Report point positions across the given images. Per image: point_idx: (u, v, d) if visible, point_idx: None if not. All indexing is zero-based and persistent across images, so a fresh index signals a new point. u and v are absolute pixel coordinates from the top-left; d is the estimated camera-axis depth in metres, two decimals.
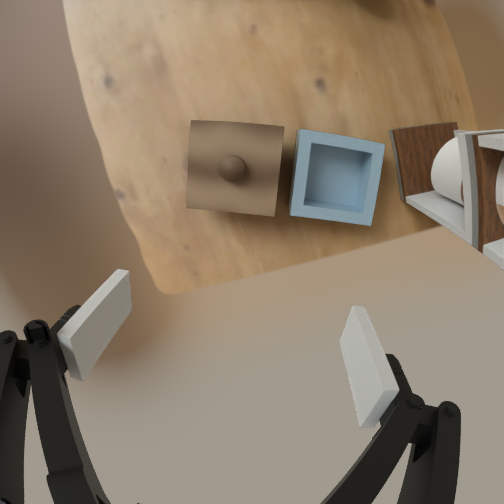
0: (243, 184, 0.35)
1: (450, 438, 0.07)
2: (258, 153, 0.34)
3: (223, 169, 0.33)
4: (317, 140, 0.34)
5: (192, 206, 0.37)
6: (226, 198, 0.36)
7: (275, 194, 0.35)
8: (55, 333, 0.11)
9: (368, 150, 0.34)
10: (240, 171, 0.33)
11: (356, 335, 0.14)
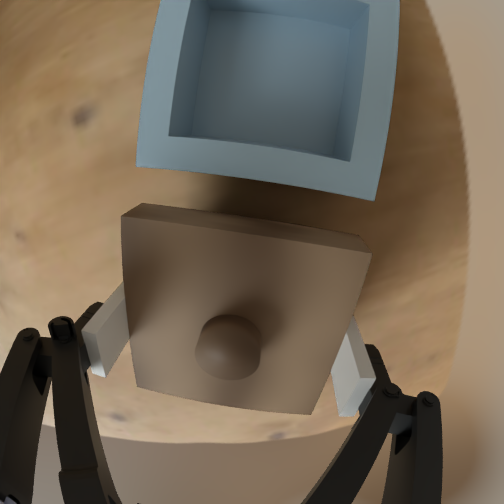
0: (274, 322, 0.14)
1: (431, 428, 0.08)
2: (192, 283, 0.13)
3: (228, 372, 0.13)
4: (162, 119, 0.12)
5: (309, 407, 0.16)
6: (304, 356, 0.14)
7: (310, 247, 0.12)
8: (77, 329, 0.12)
9: None
10: (232, 342, 0.13)
11: None
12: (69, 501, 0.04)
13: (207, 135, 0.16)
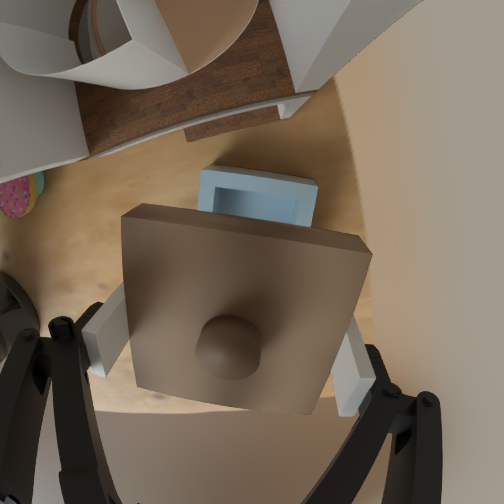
0: (274, 322, 0.14)
1: (431, 428, 0.08)
2: (192, 283, 0.13)
3: (228, 372, 0.13)
4: None
5: (309, 407, 0.16)
6: (304, 356, 0.14)
7: (310, 247, 0.12)
8: (78, 329, 0.12)
9: (211, 192, 0.28)
10: (232, 342, 0.13)
11: None
12: (69, 501, 0.04)
13: None
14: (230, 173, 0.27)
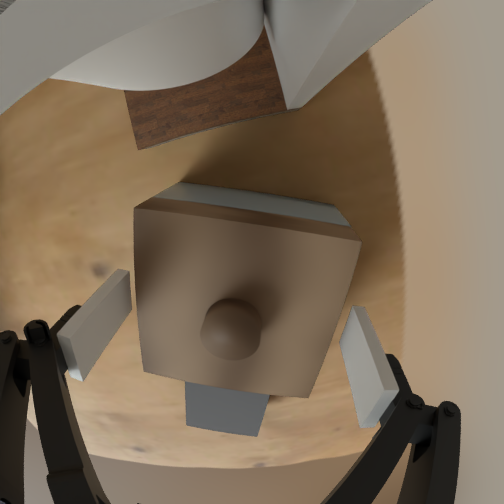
0: (273, 305, 0.15)
1: (450, 438, 0.07)
2: (198, 269, 0.14)
3: (230, 352, 0.15)
4: None
5: (307, 390, 0.17)
6: (301, 338, 0.16)
7: (305, 236, 0.14)
8: (55, 333, 0.11)
9: None
10: (235, 322, 0.14)
11: (356, 335, 0.14)
12: None
13: None
14: None
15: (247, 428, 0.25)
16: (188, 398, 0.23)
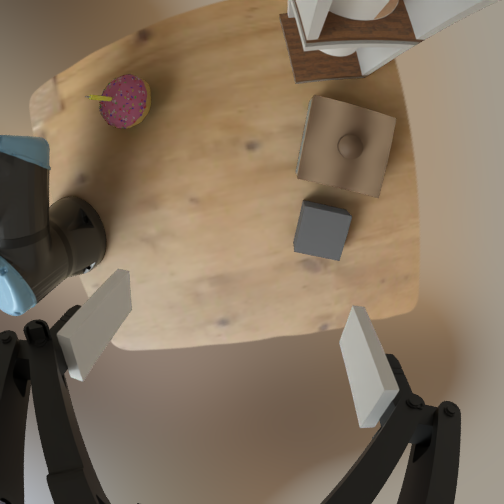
0: (365, 139, 0.33)
1: (450, 438, 0.08)
2: (337, 121, 0.33)
3: (350, 154, 0.33)
4: None
5: (378, 192, 0.36)
6: (375, 158, 0.34)
7: (376, 113, 0.32)
8: (55, 333, 0.11)
9: None
10: (354, 139, 0.32)
11: (356, 335, 0.14)
12: None
13: None
14: None
15: (334, 251, 0.43)
16: (303, 221, 0.42)
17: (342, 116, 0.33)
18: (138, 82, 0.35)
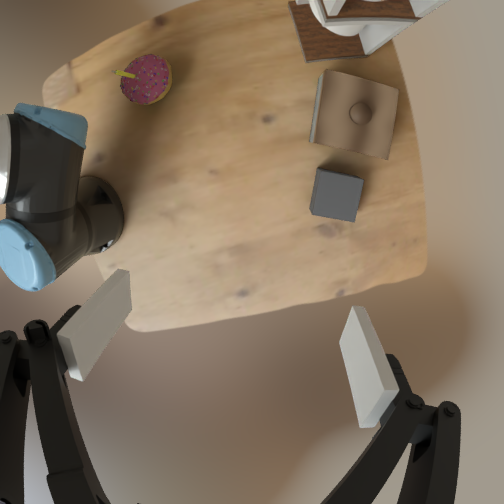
0: (372, 108, 0.35)
1: (450, 438, 0.07)
2: (348, 91, 0.35)
3: (361, 120, 0.35)
4: None
5: (387, 154, 0.38)
6: (383, 124, 0.36)
7: (381, 84, 0.34)
8: (55, 333, 0.11)
9: None
10: (364, 106, 0.34)
11: (356, 335, 0.14)
12: None
13: None
14: None
15: (349, 213, 0.45)
16: (319, 185, 0.44)
17: (351, 87, 0.35)
18: (160, 61, 0.36)
